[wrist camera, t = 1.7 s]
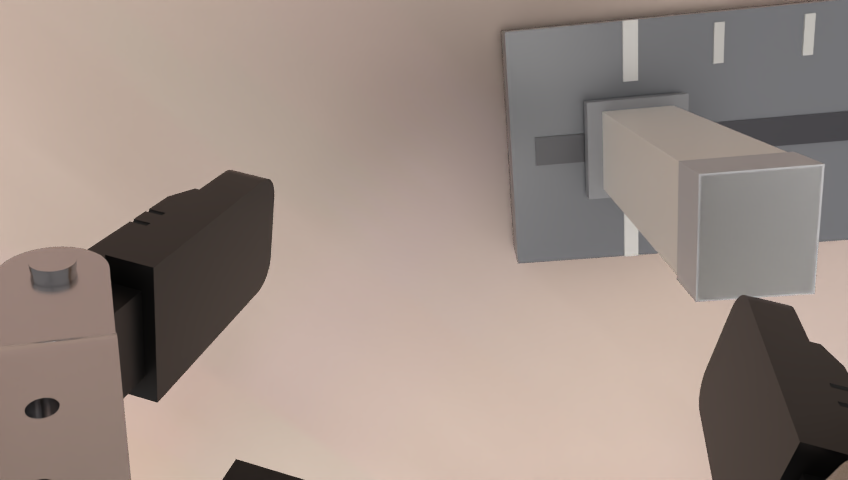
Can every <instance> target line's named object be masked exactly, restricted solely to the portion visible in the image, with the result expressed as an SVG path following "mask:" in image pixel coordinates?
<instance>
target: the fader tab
mask: <svg viewBox="0 0 848 480" xmlns="http://www.w3.org/2000/svg"><path fill="white" fill-rule="evenodd" d="M688 109H689V94H687V93H684V92H679V93H668V94H657V95H645V96H634V97H623V98H611V99H600V100H589V101H584V125H585V166H586V196H587V197H588V198H589V199H600V198H612V199H613V201H614V202H615V203H616V204H617V205H618V207H619V208H620V209H621V210H622V211H623V212H624V214H625V215H626V216H627V217H628V218H629V219H630V221H631V222H632V223H633V224H634V225H635V227H636V228H637V229H638V230H639V231H640V232H641V234H642V235H643V236H644V237H645V238H646V239H647V241H648V242H649V243H650V244H651V245H652V247H653V248H654V249H655V250H656V251H657V252H658V254H659V255H660V256H661V257H662V258H663V259H664V261H665V262H666V263H667V264H668V265H669V267H670V268H671V269H672V270H673V271H674V272H675V274H676V275H677V280H678V281H679V282H680V284H681V285H682V286H683V287H684V288H685V290H686V291H687V292H688V293H689V294H690V296H691V297H692V298H693V299H694V300H695V302H700V301H715V300H730V299H738V297H739V296H741V295H747V296H751V297H756V298H760V297H775V296H790V295H805V294H815V282H816V269H817V256H818V244H819V231H820V218H821V206H822V193H823V180H824V168H825V164H824V163H821V162H819V161H816V160H814V159H811V158H809V157H806V156H804V155H801V154H799V153H796V152H786V151H784V150H781V149H779V148H776V147H774V146H772V145H769V144H767V143H764V142H762V141H759V140H757V139H754V138H752V137H749V136H747V135H745V134H742V133H740V132H737V131H735V130H732V129H730V128H727V127H725V126H722V125H720V124H718V123H715V122H713V121H710V120H708V119H705V118H703V117H700V116H698V115H695V114H693V113H691V112H688Z"/></svg>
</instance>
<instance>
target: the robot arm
mask: <svg viewBox="0 0 848 480" xmlns="http://www.w3.org/2000/svg"><path fill="white" fill-rule="evenodd" d="M273 208H274V187H273V183H272V181H271V180H270V179H266V178H262V177H258V176H254V175H249V174H245V173H241V172H237V171H233V170H228V171H226V172H224V173H223V174H221V175H220V176H218V177H217V178H215V179H214V180H213V181H211V182H210V183H208V184H207V185H205V186H204V187H202V188H201V189H199V190H198V189H192V190H189V191H186V192H182V193H179V194H175V195H172V196H169V197H167V198H165V199H164V200H162V201H161V202H159V203H158V204H156V205H155V206H153V207H152V208H150V209H149V212H146V211H145V212H144V213H142V214H141V215H139V216H138V217H136V218H135V219H134V222H129V223H127V224H126V225H124V226H123V227H121V228H120V229H118V230H117V231H115V232H113V233H112V234H110V235H109V236H107V237H106V238H104V239H103V240H101V241H100V242H98V243H97V244H95V245H94V246H92V247H91V248H89V249H88V250H86V249H82V248H75V247H49V248H41V249H36V250H32V251H28V252H25V253H22V254H19V255H17V256H14V257H12V258H10V259H9V260H7V261H6V262H4V263H3V264H2V265H1V266H0V480H131V474H130V464H129V453H128V443H127V432H126V422H125V412H124V401H123V398H124V397H125V396H126V395H127V394H131V395H134V396H137V397H141V398H144V399H147V400H151V401H154V402H158V401H159V400H160V399H161V398H162V397H163V396H164V395H165V394H166V393H167V392H168V390H169V389H170V388H171V387H172V386H173V385H174V384H175V383H176V382H177V381H178V379H179V378H180V377H181V376H182V375H183V374H184V373H185V372H186V371H187V370H188V368H189V367H190V366H191V365H192V364H193V363H194V362H195V361H196V360H197V359H198V357H199V356H200V355H201V354H202V353H203V352H204V351H205V350H206V349H207V348H208V346H209V345H210V344H211V343H212V342H213V341H214V340H215V339H216V338H217V337H218V335H219V334H220V333H221V332H222V331H223V330H224V329H225V328H226V327H227V326H228V324H229V323H230V322H231V321H232V320H233V319H234V318H235V317H236V316H237V315H238V313H239V312H240V311H241V310H242V309H243V308H244V307H245V306H246V305H247V304H248V302H249V301H250V300H251V299H252V298H253V297H254V296H255V295H256V294H257V292H258V291H259V290H260V288H261V287H262V285H263V283H264V281H265V279H266V276H267V273H268V269H269V265H270V258H271V242H272V225H273ZM699 410H700V416H701V421H702V426H703V432H704V437H705V442H706V448H707V453H708V458H709V464H710V469H711V474H712V480H848V373H847V371H846V369H845V367H844V366H843V365H842V364H841V363H840V362H839V361H838V360H837V359H836V358H834V357H833V356H832V355H831V354H830V353H829V352H828V351H827V350H826V349H825V348H824V347H823V346H822V345H821V344H817V343H813V342H810V341H809V339H808V337H807V335H806V333H805V331H804V329H803V327H802V324H801V322H800V320H799V318H798V316H797V314H796V312H795V310H794V308H793V307H792V306H789V305H785V304H780V303H776V302H772V301H768V300H764V299H760V298H756V297H751V296H747V295H741V296H739V297H738V299H737V300H736V301H735V303H734V305H733V307H732V309H731V311H730V314H729V316H728V318H727V321H726V323H725V325H724V328H723V330H722V333H721V335H720V337H719V340H718V342H717V344H716V347H715V349H714V352H713V354H712V356H711V359H710V361H709V363H708V366H707V368H706V371H705V373H704V376H703V380H702V384H701V389H700V396H699ZM223 480H303V479H300V478H297V477H293V476H290V475H287V474H283V473H280V472H277V471H273V470H270V469H267V468H263V467H260V466H257V465H254V464H250V463H247V462H244V461H240V460H237V459H236V460H235V462H234V463H233V465H232V466H231V468H230V469H229V471H228V472H227V474H226V475H225V477H224V478H223Z"/></svg>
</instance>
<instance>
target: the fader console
mask: <svg viewBox="0 0 848 480" xmlns="http://www.w3.org/2000/svg"><path fill="white" fill-rule="evenodd" d="M501 36H502V53H503V70H504V88H505V105H506V122H507V139H508V157H509V174H510V191H511V209H512V226H513V243H514V250H515V254H516V258H517V262H518V263H531V262H545V261H558V260H572V259H586V258H600V257H614V256H638V255H642V254H656V253H658V252H657V251H656V250H655V249H654V248H653V247H652V245H651V244H650V243H649V242H648V241H647V239H646V238H645V237H644V236H643V235H642V234H641V232H640V231H639V230H638V229H637V228H636V227H635V225H634V224H633V223H632V222H631V221H630V219H629V218H628V217H627V216H626V215H625V214H624V212H623V211H622V210H621V209H620V208H619V207H618V205H617V204H616V203H615V202H614V201H613V199H612V198H600V199H589V198H588V197H587V196H586V166H585V125H584V101H589V100H600V99H611V98H623V97H634V96H645V95H657V94H668V93H679V92H684V93H687V94H689V109H688V112H691V113H693V114H695V115H698V116H700V117H703V118H705V119H708V120H710V121H713V122H715V123H718V124H720V125H722V126H725V127H727V128H730V129H732V130H735V131H737V132H740V133H742V134H745V135H747V136H749V137H752V138H754V139H757V140H759V141H762V142H764V143H767V144H769V145H772V146H774V147H776V148H779V149H781V150H784V151H786V152H796V153H799V154H801V155H804V156H806V157H809V158H811V159H814V160H816V161H819V162H821V163H824V164H825V168H824V180H823V193H822V206H821V218H820V231H819V242H822V241H836V240H848V0H819V1H809V2H798V3H788V4H777V5H767V6H757V7H746V8H736V9H725V10H715V11H704V12H694V13H684V14H673V15H663V16H652V17H642V18H632V19H621V20H611V21H600V22H590V23H580V24H569V25H559V26H548V27H538V28H528V29H517V30H507V31H501Z"/></svg>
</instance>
